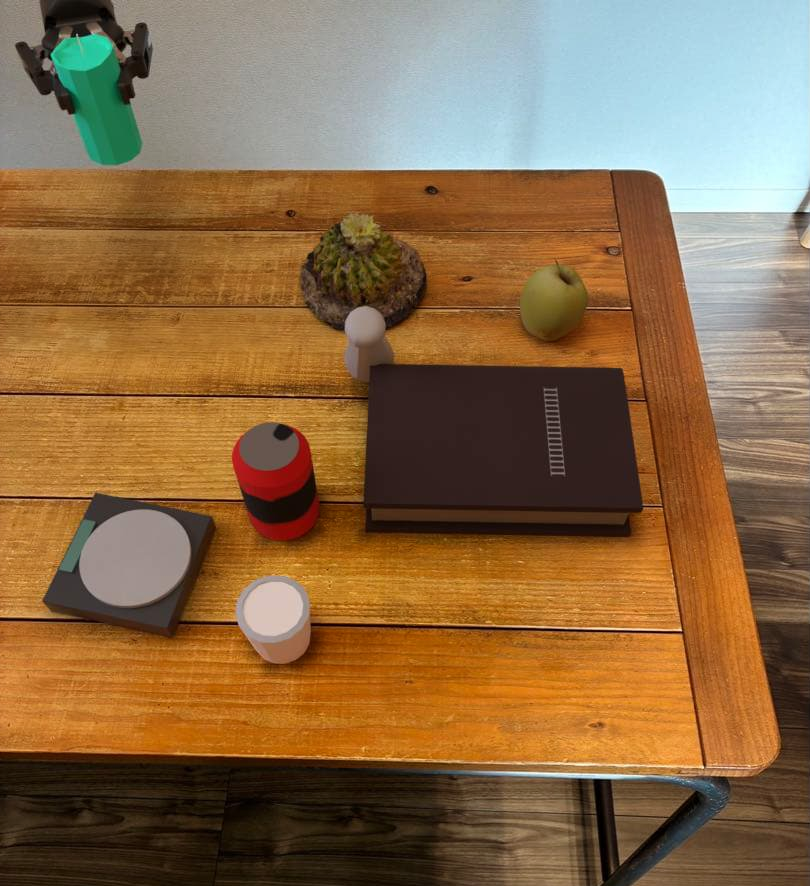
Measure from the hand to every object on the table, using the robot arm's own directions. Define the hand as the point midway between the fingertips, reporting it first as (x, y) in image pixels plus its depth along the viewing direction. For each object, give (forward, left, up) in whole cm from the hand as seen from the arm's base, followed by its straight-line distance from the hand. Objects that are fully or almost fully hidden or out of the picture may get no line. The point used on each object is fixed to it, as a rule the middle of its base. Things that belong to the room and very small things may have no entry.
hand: (97, 100), depth 81 cm
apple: (+48, +5, -26) cm, 55 cm away
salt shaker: (+29, -6, -25) cm, 38 cm away
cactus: (+24, +7, -26) cm, 36 cm away
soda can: (+24, -28, -26) cm, 45 cm away
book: (+45, -16, -26) cm, 55 cm away
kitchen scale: (+11, -38, -26) cm, 47 cm away
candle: (-1, +2, -7) cm, 8 cm away
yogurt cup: (+28, -42, -26) cm, 57 cm away
